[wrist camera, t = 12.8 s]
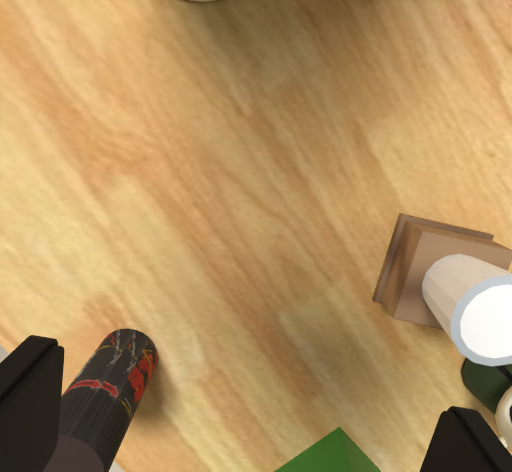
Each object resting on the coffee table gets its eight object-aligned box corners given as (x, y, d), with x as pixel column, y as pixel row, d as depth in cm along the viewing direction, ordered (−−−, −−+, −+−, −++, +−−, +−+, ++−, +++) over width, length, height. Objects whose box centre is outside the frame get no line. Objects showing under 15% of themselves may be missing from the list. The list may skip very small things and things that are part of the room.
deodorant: (107, 321, 42) (26, 423, 27) (164, 338, 42) (113, 448, 28) (94, 370, 43) (9, 492, 29) (149, 387, 44) (93, 515, 29)
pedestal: (399, 213, 39) (419, 225, 34) (489, 233, 39) (521, 248, 34) (372, 298, 41) (387, 321, 36) (457, 317, 41) (483, 342, 36)
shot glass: (512, 287, 35) (572, 324, 28) (447, 337, 36) (489, 385, 30) (463, 229, 34) (514, 255, 27) (397, 284, 35) (430, 321, 28)
